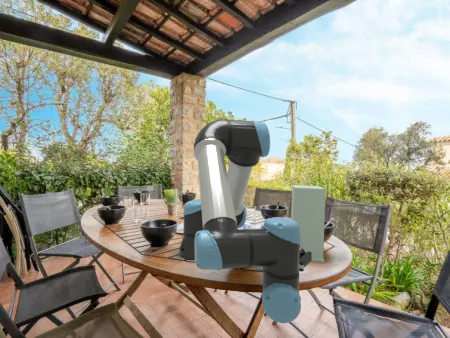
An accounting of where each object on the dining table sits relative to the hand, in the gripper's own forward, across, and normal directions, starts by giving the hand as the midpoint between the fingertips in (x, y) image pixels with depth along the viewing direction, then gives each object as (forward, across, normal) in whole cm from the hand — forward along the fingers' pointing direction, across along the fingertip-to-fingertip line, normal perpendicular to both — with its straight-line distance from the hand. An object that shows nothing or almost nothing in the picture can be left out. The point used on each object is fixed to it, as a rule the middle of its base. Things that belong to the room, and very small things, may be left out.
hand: (276, 245), depth 83 cm
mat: (+15, 0, -12) cm, 20 cm away
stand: (+27, +14, -12) cm, 32 cm away
